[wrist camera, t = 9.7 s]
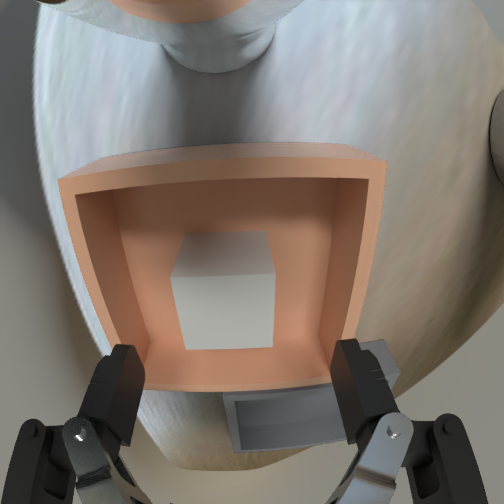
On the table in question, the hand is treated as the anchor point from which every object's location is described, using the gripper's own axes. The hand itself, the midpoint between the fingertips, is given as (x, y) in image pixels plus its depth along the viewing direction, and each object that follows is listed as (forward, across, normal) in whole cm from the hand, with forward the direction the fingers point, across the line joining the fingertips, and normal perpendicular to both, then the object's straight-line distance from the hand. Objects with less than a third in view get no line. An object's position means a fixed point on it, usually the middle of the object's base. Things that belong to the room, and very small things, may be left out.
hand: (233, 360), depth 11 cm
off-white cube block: (+7, 0, 0) cm, 7 cm away
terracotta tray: (+8, 0, 0) cm, 8 cm away
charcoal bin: (+8, -5, +15) cm, 18 cm away
